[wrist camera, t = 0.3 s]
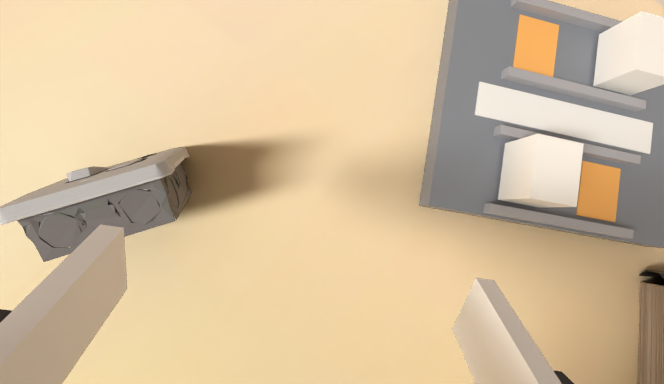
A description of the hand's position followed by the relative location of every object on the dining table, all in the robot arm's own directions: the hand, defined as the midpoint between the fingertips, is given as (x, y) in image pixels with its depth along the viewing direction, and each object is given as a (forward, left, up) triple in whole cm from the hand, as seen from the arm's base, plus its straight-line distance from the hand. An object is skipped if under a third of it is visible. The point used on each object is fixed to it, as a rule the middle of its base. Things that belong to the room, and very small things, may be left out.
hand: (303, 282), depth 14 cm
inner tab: (+9, -19, -15) cm, 26 cm away
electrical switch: (+2, +12, -17) cm, 21 cm away
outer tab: (+21, -27, -15) cm, 37 cm away
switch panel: (+15, -23, -17) cm, 32 cm away
